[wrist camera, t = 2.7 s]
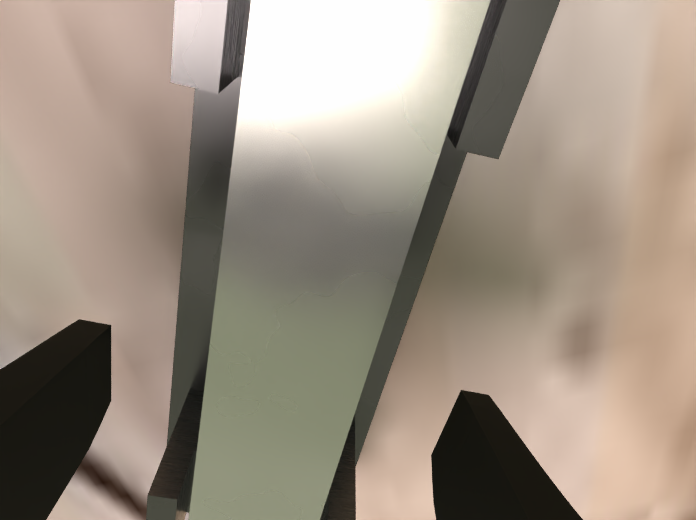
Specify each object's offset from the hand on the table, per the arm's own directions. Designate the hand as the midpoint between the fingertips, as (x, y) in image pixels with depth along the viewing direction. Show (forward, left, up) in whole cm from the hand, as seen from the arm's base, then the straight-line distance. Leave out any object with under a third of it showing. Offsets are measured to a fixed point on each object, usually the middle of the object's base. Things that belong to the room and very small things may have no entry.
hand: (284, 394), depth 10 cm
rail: (0, 0, -3) cm, 3 cm away
